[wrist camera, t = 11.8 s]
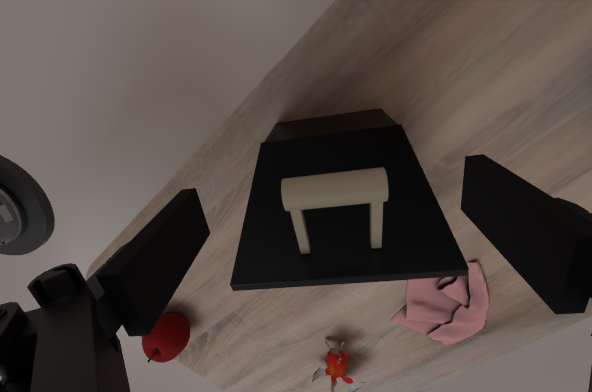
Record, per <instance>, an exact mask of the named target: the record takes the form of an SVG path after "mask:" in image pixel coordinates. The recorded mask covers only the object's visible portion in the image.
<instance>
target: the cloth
mask: <svg viewBox="0 0 592 392" xmlns="http://www.w3.org/2000/svg"><path fill="white" fill-rule="evenodd" d="M467 265H468V268H469V271H468V274H467V276H458V278H457V279H456V277H442V278H426V279H410V280H408V284H407V291H406V302H407V304H406V305H405V306H404V307H403V308H402V309H401V310H400V311H399V312H398V313H397V314H396V315H395V316H394V317H393V318H392V319H391V321H393V322H395V323H398V324H400V325H402V326H405V327H407V328H410V329H412V330H414V331H417V332H420V333H423V334H425V335H428V336H429V337H430V338H432V339H433V340H436V341H439V340H441V342H442V344H444V345H449V344H453V343H455V342H458V341H461V340H463V339H465V338H467V337H470V336H472V335H474V334H475V333H477V332H478V331H479V330H481V329H483V328H484V326H485V324H486V322H485V320H486V318H487V311H488V306H489V297H488V290H487V286H486V281H485V278H484V275H483V274H482V270H481V267H480V265H479V263H478V261H476V262H473V263H469V262H467Z"/></svg>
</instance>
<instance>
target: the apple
mask: <svg viewBox="0 0 592 392" xmlns="http://www.w3.org/2000/svg"><path fill="white" fill-rule="evenodd" d="M189 337H190V327H189V323H188V321H187V320H186V319H185V317H183V316H182V315H180V314H178V313H175V312H171V313H165V314H162V315H161V316H160V318H159V319H158V321H157V322H156V324H155V326H154V327H153V329H152V331H151V332H150V334H149V335H146V336H142V346H143V350H144V353H145V354H146V356H147V357H148V358H149V360H148V362H149V361H150V360H153V361H156V362H167V361H170V360H172V359H173V358H175V357H176V356H177V355H178V354H179V353H180V352H181V351H182V350H183V349H184V348H185V347H186V345H187V343H188V341H189Z"/></svg>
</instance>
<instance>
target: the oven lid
mask: <svg viewBox="0 0 592 392" xmlns="http://www.w3.org/2000/svg"><path fill="white" fill-rule="evenodd" d="M468 271H469V268H468V265H467V263H466V261H465V259H464V257H463V255H462V253H461V251H460V248H459V246H458V244H457V242H456V240H455V238H454V236H453V234H452V231H451V229H450V227H449V225H448V223H447V221H446V219H445V217H444V214H443V212H442V210H441V208H440V206H439V204H438V202H437V200H436V197H435V195H434V193H433V191H432V189H431V187H430V185H429V183H428V180H427V178H426V176H425V174H424V172H423V170H422V168H421V166H420V163H419V161H418V159H417V157H416V155H415V153H414V151H413V148H412V146H411V144H410V142H409V140H408V138H407V136H406V134H405V131H404V129H403V127H402V125H401V124H400V125H392V126H384V127H377V128H369V129H362V130H354V131H347V132H339V133H332V134H324V135H316V136H309V137H301V138H294V139H286V140H279V141H271V142H264V143H261V146H260V150H259V155H258V160H257V164H256V169H255V173H254V178H253V182H252V187H251V191H250V196H249V201H248V205H247V210H246V214H245V219H244V223H243V228H242V233H241V237H240V242H239V246H238V251H237V255H236V260H235V265H234V269H233V274H232V278H231V283H230V286H231V288H232V290H233V291H239V290H255V289H270V288H286V287H302V286H317V285H333V284H348V283H364V282H379V281H395V280H410V279H426V278H442V277H457V276H467V274H468Z"/></svg>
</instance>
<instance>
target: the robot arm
mask: <svg viewBox="0 0 592 392" xmlns="http://www.w3.org/2000/svg"><path fill="white" fill-rule="evenodd" d="M461 210H462V211H463V212H464V213H465V214H466V216H467V217H468V218H469V219H470V220H471V221H472V222H473V223H474V224H475V226H476V227H477V228H478V229H479V230H480V231H481V232H482V233H483V234H484V235H485V237H486V238H487V239H488V240H489V241H490V242H491V243H492V244H493V245H494V247H495V248H496V249H497V250H498V251H499V252H500V253H501V254H502V255H503V257H504V258H505V259H506V260H507V261H508V262H509V263H510V264H511V265H512V266H513V268H514V269H515V270H516V271H517V272H518V273H519V274H520V275H521V276H522V278H523V279H524V280H525V281H526V282H527V283H528V284H529V285H530V286H531V287H532V289H533V290H534V291H535V292H536V293H537V294H538V295H539V296H540V297H541V299H542V300H543V301H544V302H545V303H546V304H547V305H548V306H549V307H550V309H551V310H552V311H553V312H554V313H555V314H571V313H584V312H585V309H586V306H587V303H588V300H589V298H590V297H591V298H592V213H589V212H588V211H587V210H585V209H584V208H582V207H580V206H579V205H577V204H575V203H572V202H569V201H566V200H563V199H560V198H553V197H551V196H550V195H548V194H546V193H545V192H543V191H541V190H540V189H538V188H537V187H535V186H533V185H532V184H530V183H529V182H527V181H525V180H524V179H522V178H521V177H519V176H517V175H516V174H514V173H512V172H511V171H509V170H508V169H506V168H504V167H503V166H501V165H500V164H498V163H496V162H495V161H493V160H492V159H490V158H488V157H487V156H485V155H483V154H482V155H474V156H465V167H464V178H463V189H462V201H461ZM25 228H26V215H25V212H24V210H23V208H22V206H21V204H20V202H19V201H18V200H17V198H16V197H15V196H14V195H13V194H12V193H11V192H10V191H9V190H8V189H7V188H6V187H5V186H3V185H2V184H1V183H0V245H4V244H7V243H9V242H11V241H13V240H15V239H16V238H18V237H19V236H21V235H22V234H23V232H24V231H25ZM209 235H210V231H209V228H208V225H207V222H206V219H205V216H204V213H203V209H202V206H201V203H200V200H199V197H198V194H197V191H196V188H193V189H184V190H181V191H180V192H179V193H178V194H177V195H176V196H175V197H174V198H173V199H172V200H171V201H170V202H169V203H168V204H167V205H166V206H165V207H164V208H163V209H162V210H161V211H160V212H159V213H158V214H157V215H156V216H155V217H154V218H153V219H152V220H151V221H150V222H149V223H148V224H147V225H146V226H145V227H144V228H143V229H142V230H141V231H140V232H139V233H138V234H137V235H136V236H135V237H134V238H133V239H132V240H131V241H130V242H128V243H127V244H125V245H124V246H122V247H120V248H119V249H118V250H117V251H116V252H115V253H114V254H113V255H112V256H113V257H110V258H109V259H108V260H107V261H106V264H103V265H102V266H101V267H100V268H99V269H98V270H97V271H96V272H95V273H94V274H93V275H92V276H91V277H90V278H89V279H88V280H87V281H85V279H84V278H83V276H82V274H81V272H80V271H79V269H78V267H77V266H76V264H71V263H70V264H63V265H60V266H57V267H54V268H52V269H50V270H48V271H46V272H44V273H42V274H41V275H39V276H37V277H36V278H35V279H34V280H33V281H31V282H30V284H29V285H28V287H27V288H28V289H29V291H30V292H31V293H32V295H33V297H34V298H35V299H36V301H37V302H38V304H39V305H40V307H41V308H39V309H35V310H32V311H28V312H24V311H23V310H22V309H21V307H20V306H19V305H18V303H16V302H10V303H5V304H2V305H0V375H1V376H2V380H1V382H0V392H130V388H129V383H128V378H127V373H126V368H125V364H124V359H123V354H122V349H121V344H120V340H119V339H118V337H117V335H116V332H117V331H118V330H119V328H120V326H121V325H123V327H124V328H125V330H126V332H127V334H128V335H129V336H146V335H149V334H150V332H151V331H152V329H153V327H154V326H155V324H156V322H157V321H158V319H159V318H160V316H161V314H162V313H163V311H164V309H165V308H166V306H167V304H168V303H169V301H170V299H171V298H172V296H173V294H174V293H175V291H176V289H177V288H178V286H179V284H180V283H181V281H182V279H183V278H184V276H185V274H186V273H187V271H188V269H189V268H190V266H191V264H192V263H193V261H194V259H195V258H196V256H197V254H198V253H199V251H200V249H201V248H202V246H203V244H204V243H205V241H206V240H207V238H208V236H209ZM591 336H592V334H591ZM588 392H592V367H591V375H590V383H589V391H588Z"/></svg>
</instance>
